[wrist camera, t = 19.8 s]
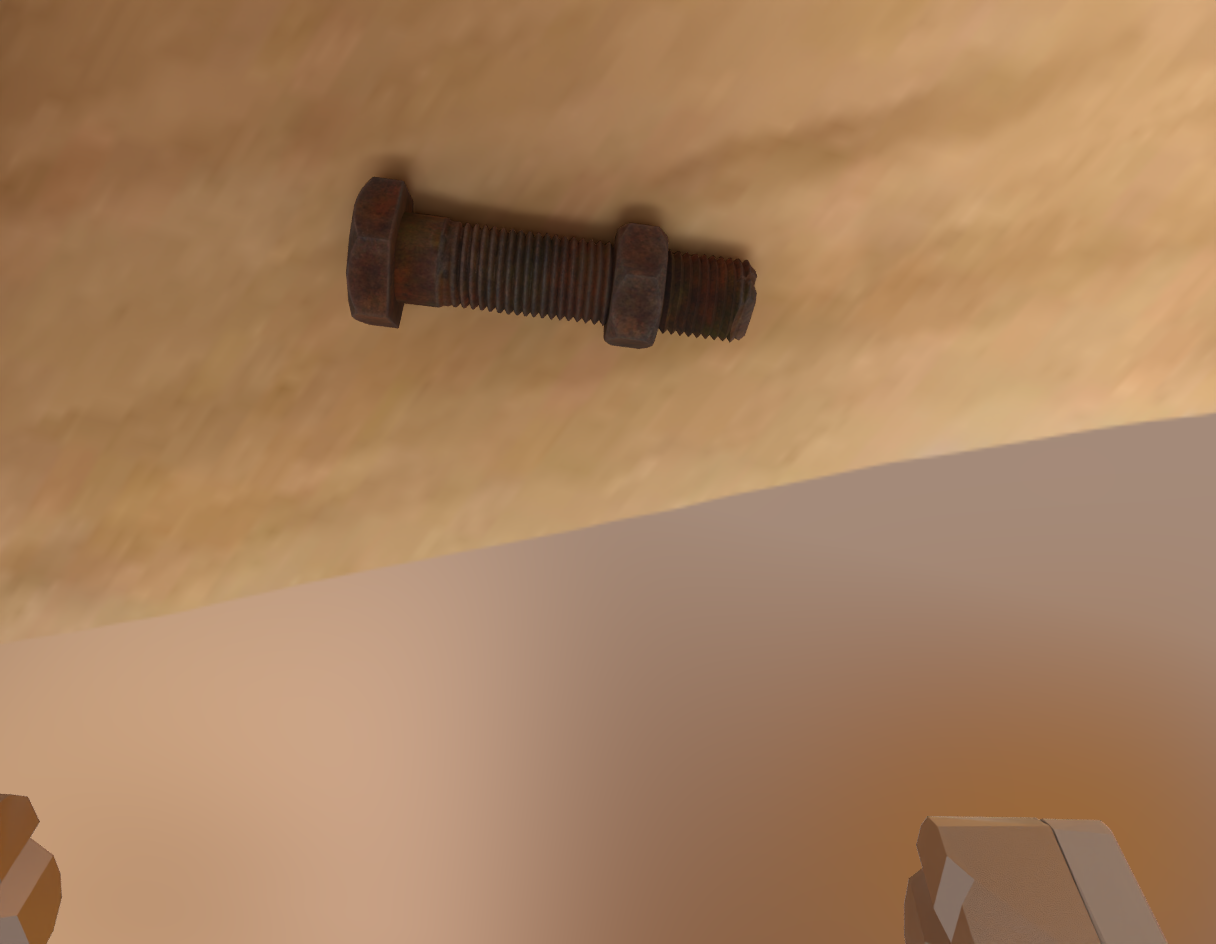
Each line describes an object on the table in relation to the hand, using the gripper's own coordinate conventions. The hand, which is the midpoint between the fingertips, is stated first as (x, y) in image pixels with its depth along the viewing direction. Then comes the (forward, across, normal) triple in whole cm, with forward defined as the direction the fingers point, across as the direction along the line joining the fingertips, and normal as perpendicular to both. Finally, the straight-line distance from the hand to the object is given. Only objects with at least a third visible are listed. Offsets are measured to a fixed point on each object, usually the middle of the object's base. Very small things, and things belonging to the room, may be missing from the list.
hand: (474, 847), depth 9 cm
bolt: (+34, -2, -6) cm, 34 cm away
